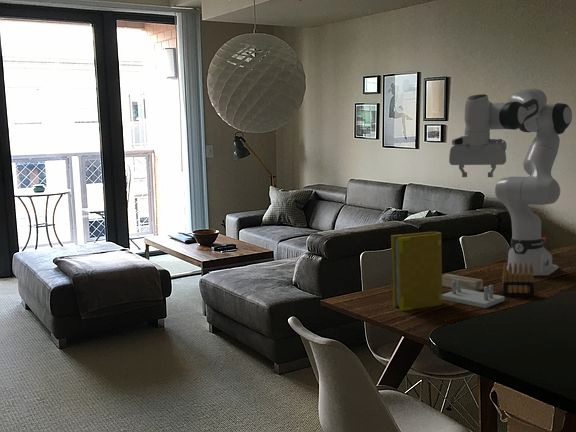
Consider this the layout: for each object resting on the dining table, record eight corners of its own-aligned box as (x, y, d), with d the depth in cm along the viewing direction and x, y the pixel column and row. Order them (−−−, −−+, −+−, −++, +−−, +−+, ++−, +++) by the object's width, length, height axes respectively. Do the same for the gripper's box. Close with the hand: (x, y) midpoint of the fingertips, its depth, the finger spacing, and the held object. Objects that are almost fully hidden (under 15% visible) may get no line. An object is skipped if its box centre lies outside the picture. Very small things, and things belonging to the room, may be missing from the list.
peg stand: (460, 292, 239) (460, 276, 238) (504, 300, 225) (504, 283, 224) (440, 299, 231) (440, 282, 230) (485, 308, 217) (485, 290, 216)
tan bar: (446, 283, 253) (446, 273, 253) (482, 290, 241) (482, 279, 240) (439, 286, 250) (438, 276, 249) (475, 293, 238) (475, 282, 237)
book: (401, 310, 219) (399, 238, 215) (393, 305, 225) (391, 235, 222) (446, 304, 224) (445, 233, 220) (436, 300, 230) (435, 230, 226)
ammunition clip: (502, 295, 231) (502, 263, 230) (502, 294, 233) (502, 262, 231) (534, 296, 229) (534, 263, 227) (533, 294, 230) (533, 262, 229)
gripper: (508, 138, 234) (508, 176, 236) (452, 139, 244) (453, 176, 246) (504, 139, 228) (504, 178, 230) (447, 140, 239) (448, 177, 241)
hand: (477, 177), depth 238 cm, fingers open, 8 cm apart
